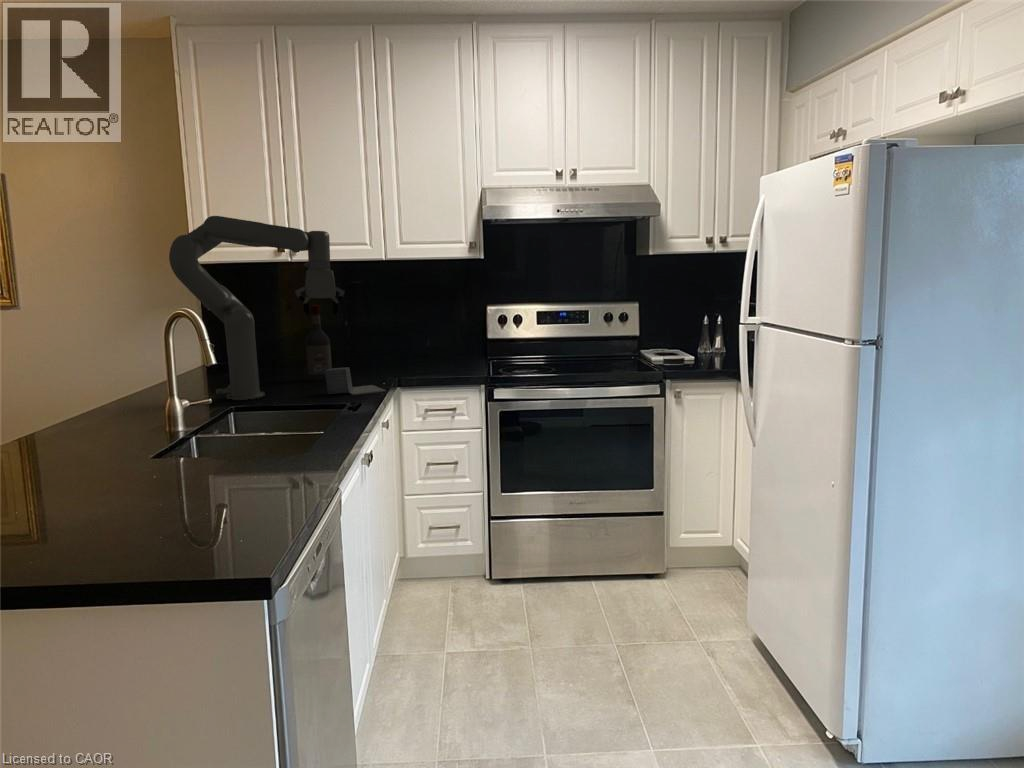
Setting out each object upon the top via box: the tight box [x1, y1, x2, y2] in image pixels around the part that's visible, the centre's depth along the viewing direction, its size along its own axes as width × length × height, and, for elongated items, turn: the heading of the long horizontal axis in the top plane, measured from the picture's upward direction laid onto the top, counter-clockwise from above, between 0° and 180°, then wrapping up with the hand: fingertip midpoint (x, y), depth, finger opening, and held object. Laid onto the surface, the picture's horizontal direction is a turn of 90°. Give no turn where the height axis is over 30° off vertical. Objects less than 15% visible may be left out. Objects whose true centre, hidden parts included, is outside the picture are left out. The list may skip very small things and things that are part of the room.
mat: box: [348, 384, 387, 396], centre depth 254 cm, size 12×14×1 cm
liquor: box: [304, 304, 333, 383], centre depth 279 cm, size 9×9×30 cm
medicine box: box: [325, 367, 353, 395], centre depth 248 cm, size 8×4×9 cm, turn 84°
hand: (321, 314), depth 250 cm, fingers open, 9 cm apart
